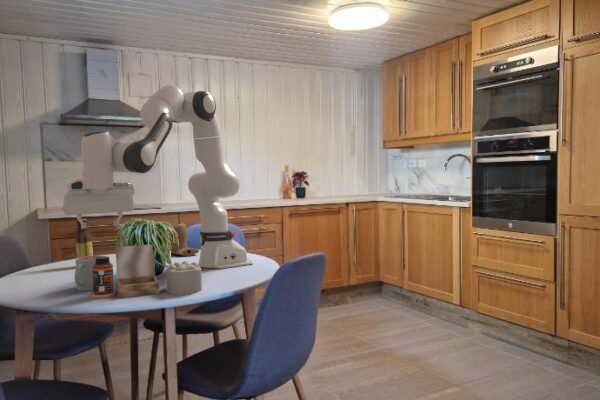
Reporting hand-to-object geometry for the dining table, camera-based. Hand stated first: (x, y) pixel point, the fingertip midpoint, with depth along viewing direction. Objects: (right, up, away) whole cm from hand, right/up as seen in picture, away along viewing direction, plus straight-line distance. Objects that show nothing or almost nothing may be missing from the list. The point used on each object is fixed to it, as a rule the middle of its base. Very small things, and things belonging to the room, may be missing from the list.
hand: (100, 227), depth 144 cm
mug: (-9, -21, +10) cm, 25 cm away
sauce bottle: (-28, -20, +50) cm, 60 cm away
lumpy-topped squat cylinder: (+24, -21, +8) cm, 33 cm away
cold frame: (+9, -21, +8) cm, 24 cm away
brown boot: (+6, -18, +75) cm, 77 cm away
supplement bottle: (0, -21, +1) cm, 21 cm away
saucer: (0, -21, +1) cm, 21 cm away
